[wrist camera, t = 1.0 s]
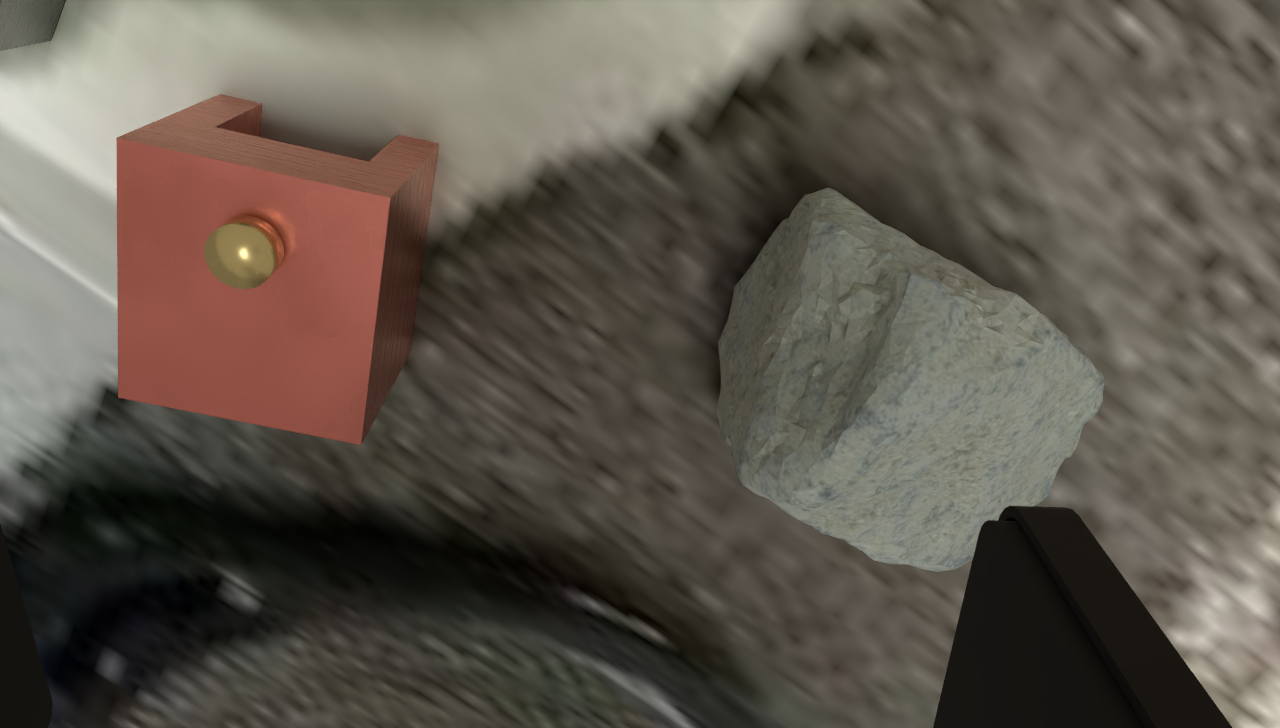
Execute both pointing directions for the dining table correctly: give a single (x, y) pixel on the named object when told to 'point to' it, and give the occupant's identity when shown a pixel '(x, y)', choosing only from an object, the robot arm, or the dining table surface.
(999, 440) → the decorative stone
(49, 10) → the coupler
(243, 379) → the block
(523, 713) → the dining table surface
